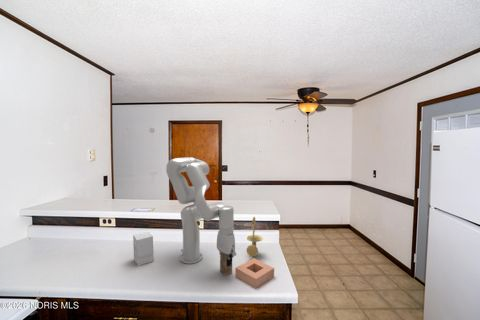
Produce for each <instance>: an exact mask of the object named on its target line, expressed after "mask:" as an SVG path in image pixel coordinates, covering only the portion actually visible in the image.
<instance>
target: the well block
mask: <svg viewBox="0 0 480 320" xmlns="http://www.w3.org/2000/svg"><path fill="white" fill-rule="evenodd" d="M234 269H235V270H234V271H235V272H234V273H235V274H234V276H235V277H236V278H237V279H239V280H241V281H243V282H245V283H246V284H248V285H250V286H251V287H253V288H255V289H257V288H258V287H260V286H261V285H263V284H264V283H266V282H268V281H269V280H271V279H272V278H274V277H275V267H272V266H271V265H269V264H266V263H265V262H263V261H261V260H258V259H256V258H252V259H249V260H248V261H246V262H244V263H241V264H240V265H238V266H236V267H235V268H234Z"/></svg>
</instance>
